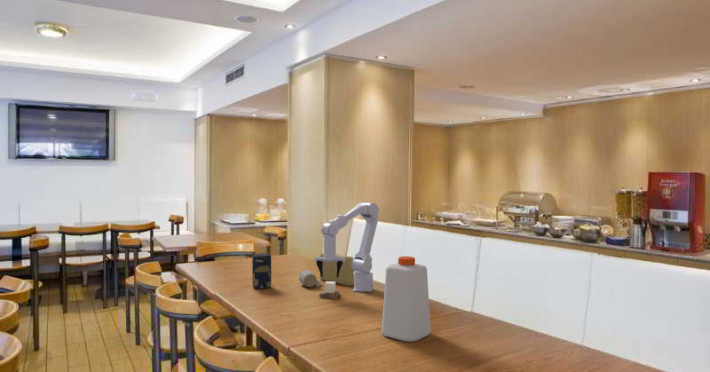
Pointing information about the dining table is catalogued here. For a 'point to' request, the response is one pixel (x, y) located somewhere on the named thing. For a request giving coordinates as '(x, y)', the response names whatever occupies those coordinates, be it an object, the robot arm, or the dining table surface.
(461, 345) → the dining table surface
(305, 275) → the ceramic mug
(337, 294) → the walnut base
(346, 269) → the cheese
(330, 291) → the cream cube
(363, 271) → the robot arm
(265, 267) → the canister
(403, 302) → the plastic bottle
